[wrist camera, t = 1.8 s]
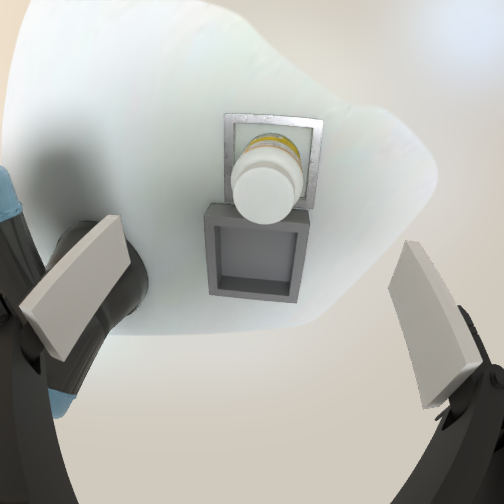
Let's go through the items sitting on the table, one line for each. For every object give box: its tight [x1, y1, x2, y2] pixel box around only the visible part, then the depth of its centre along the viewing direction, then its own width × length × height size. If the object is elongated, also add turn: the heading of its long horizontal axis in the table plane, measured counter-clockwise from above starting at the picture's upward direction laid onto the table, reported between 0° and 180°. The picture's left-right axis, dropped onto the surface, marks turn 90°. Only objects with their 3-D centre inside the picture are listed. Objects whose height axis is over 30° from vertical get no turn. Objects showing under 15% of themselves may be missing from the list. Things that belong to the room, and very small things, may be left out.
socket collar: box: [224, 113, 323, 209], centre depth 25 cm, size 9×9×1 cm
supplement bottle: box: [231, 133, 303, 224], centre depth 21 cm, size 5×5×10 cm
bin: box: [204, 203, 310, 303], centre depth 30 cm, size 10×10×3 cm
